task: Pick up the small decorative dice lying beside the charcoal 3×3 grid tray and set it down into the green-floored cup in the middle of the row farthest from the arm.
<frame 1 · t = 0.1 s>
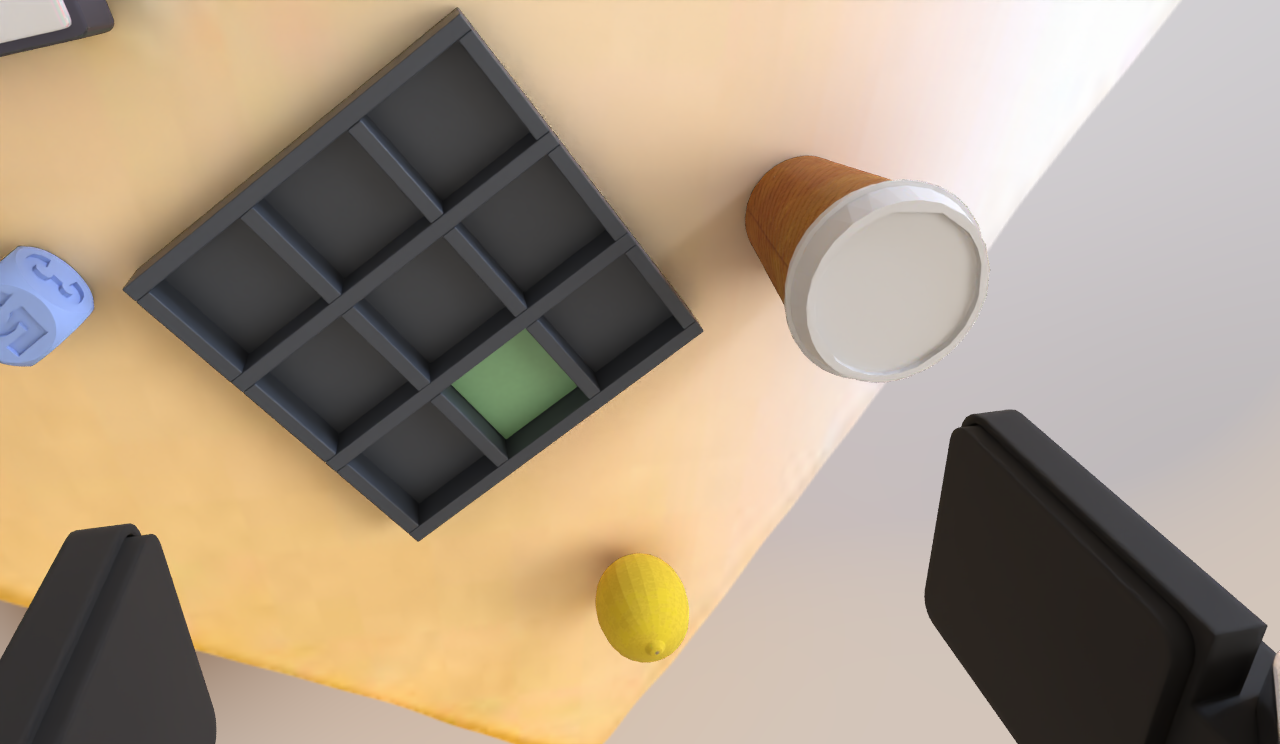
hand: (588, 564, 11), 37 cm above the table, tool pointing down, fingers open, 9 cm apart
disposable coffee cup: (798, 211, 51), on the table
grid tray: (435, 292, 48), on the table
decorative dice: (41, 288, 44), on the table
lemon: (628, 561, 59), on the table
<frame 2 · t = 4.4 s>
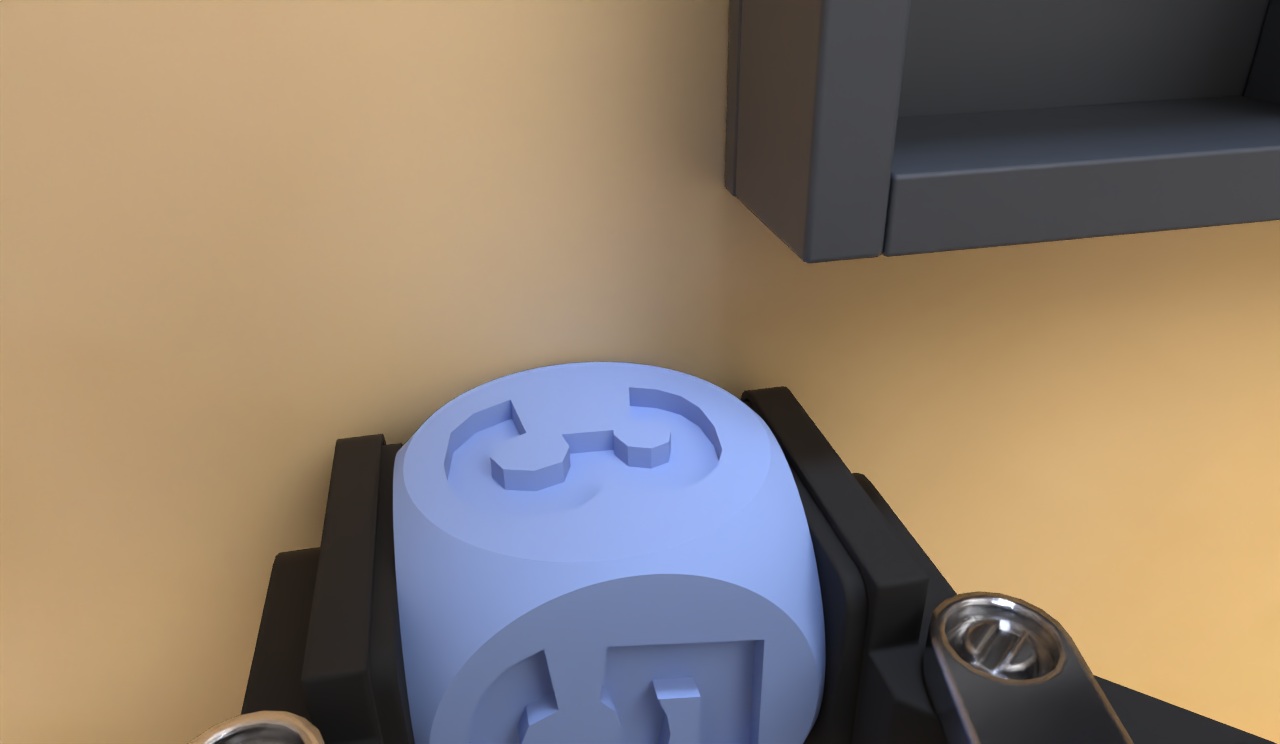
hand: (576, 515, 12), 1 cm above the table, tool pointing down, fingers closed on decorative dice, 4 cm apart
decorative dice: (568, 485, 12), on the table, touching gripper
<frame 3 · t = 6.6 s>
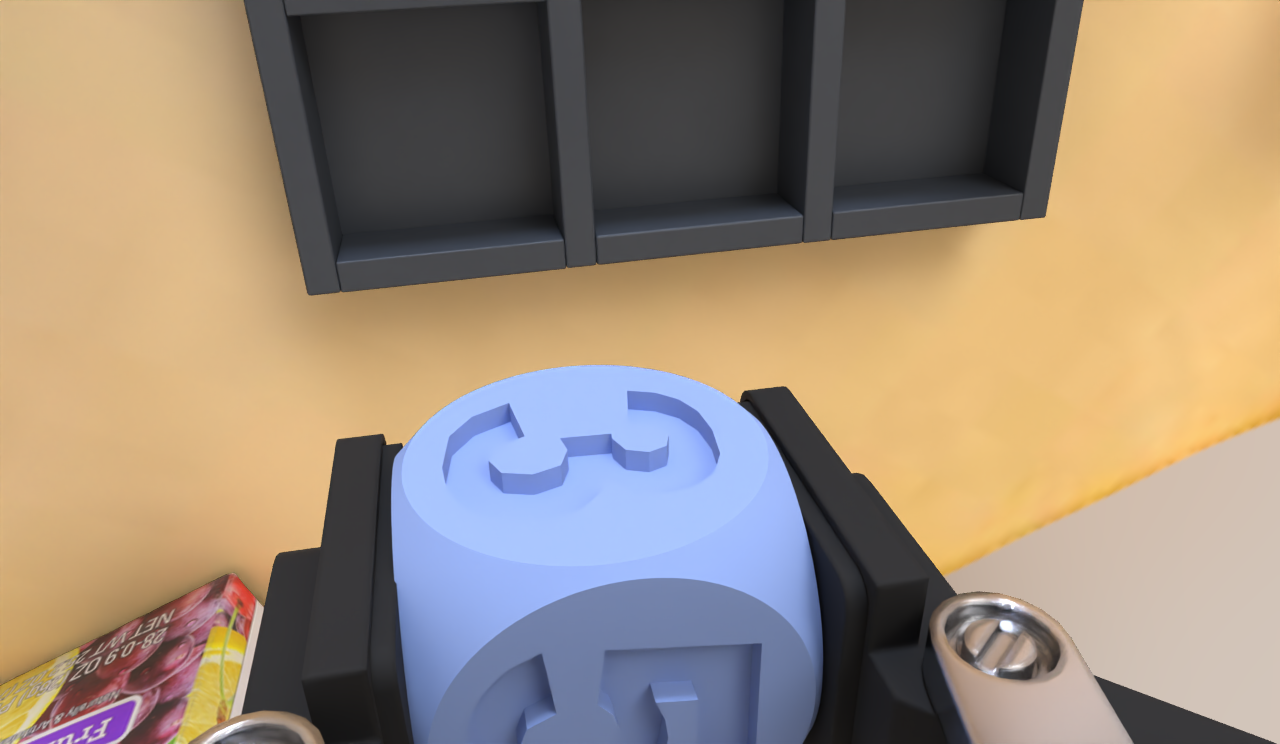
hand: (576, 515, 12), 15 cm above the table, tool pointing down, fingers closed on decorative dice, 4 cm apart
decorative dice: (567, 488, 12), point 14 cm above the table, touching gripper
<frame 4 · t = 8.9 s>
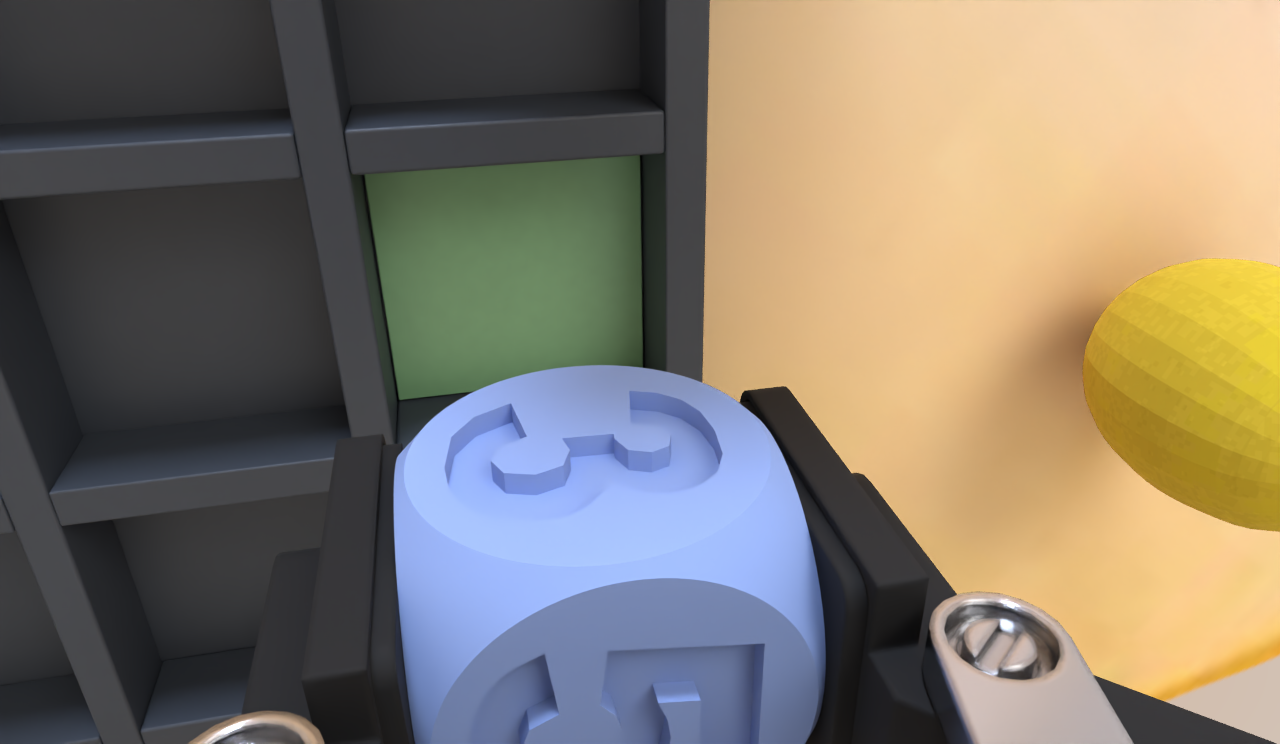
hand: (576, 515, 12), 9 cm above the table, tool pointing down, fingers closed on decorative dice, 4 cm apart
grid tray: (198, 290, 19), on the table
decorative dice: (568, 488, 12), point 9 cm above the table, touching gripper
lemon: (1111, 313, 24), on the table
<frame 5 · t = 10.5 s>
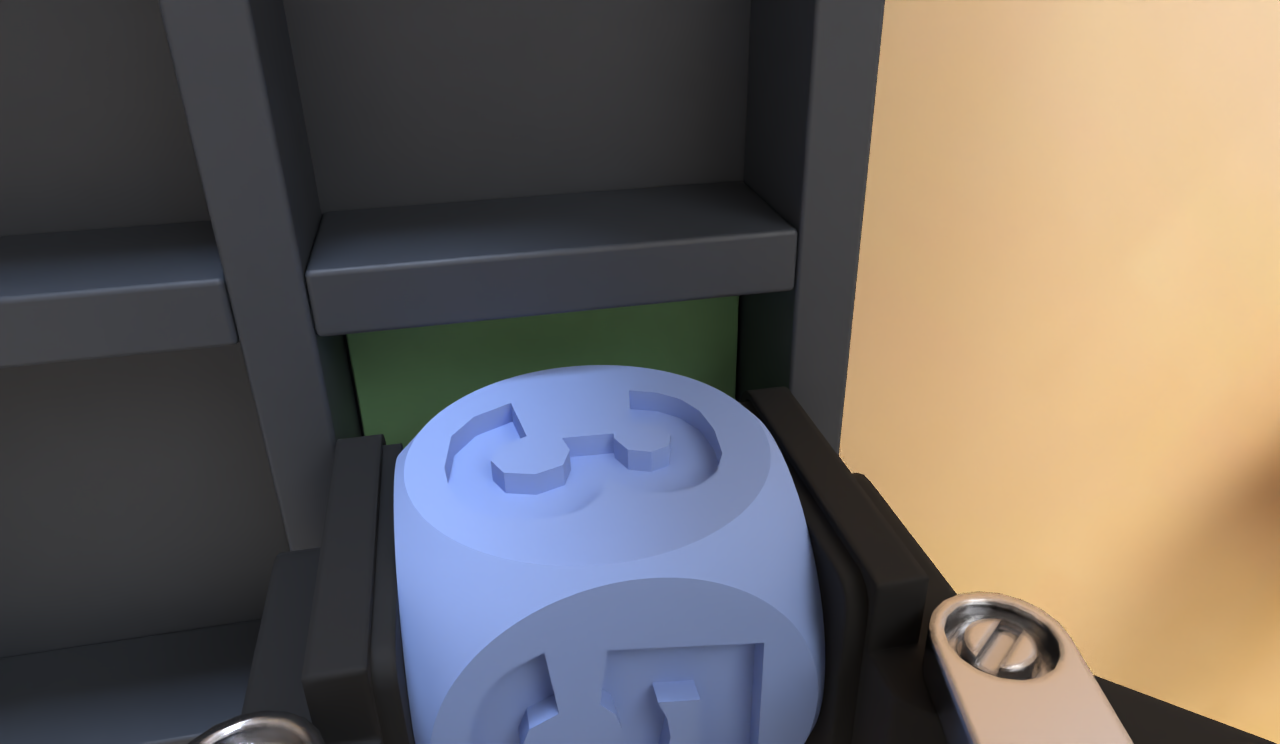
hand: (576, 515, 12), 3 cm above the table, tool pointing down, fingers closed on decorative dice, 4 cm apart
grid tray: (105, 466, 13), on the table
decorative dice: (568, 487, 12), point 2 cm above the table, touching gripper
when the fingers open (3 cm above the table, at t = 13.3 s): decorative dice drops 2 cm, resting on grid tray.
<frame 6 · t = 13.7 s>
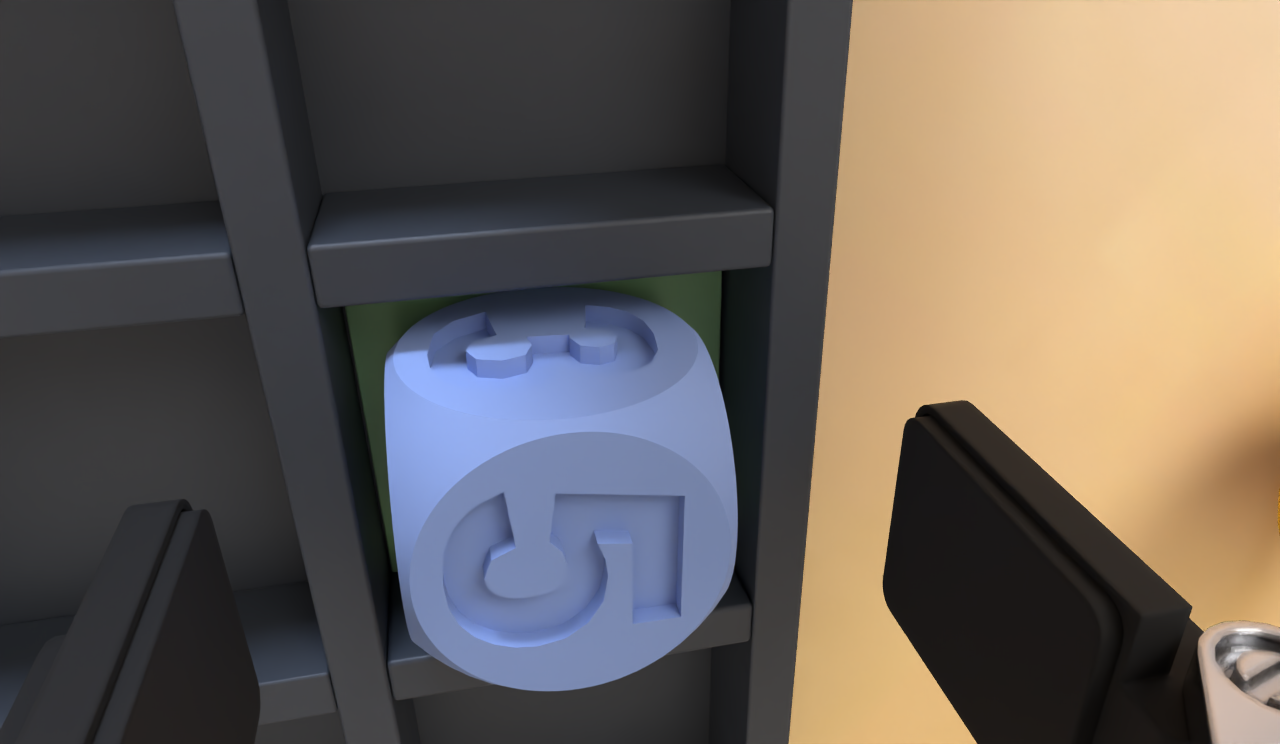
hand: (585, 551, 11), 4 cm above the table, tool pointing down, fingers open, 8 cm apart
grid tray: (115, 438, 14), on the table
decorative dice: (535, 399, 14), resting on grid tray
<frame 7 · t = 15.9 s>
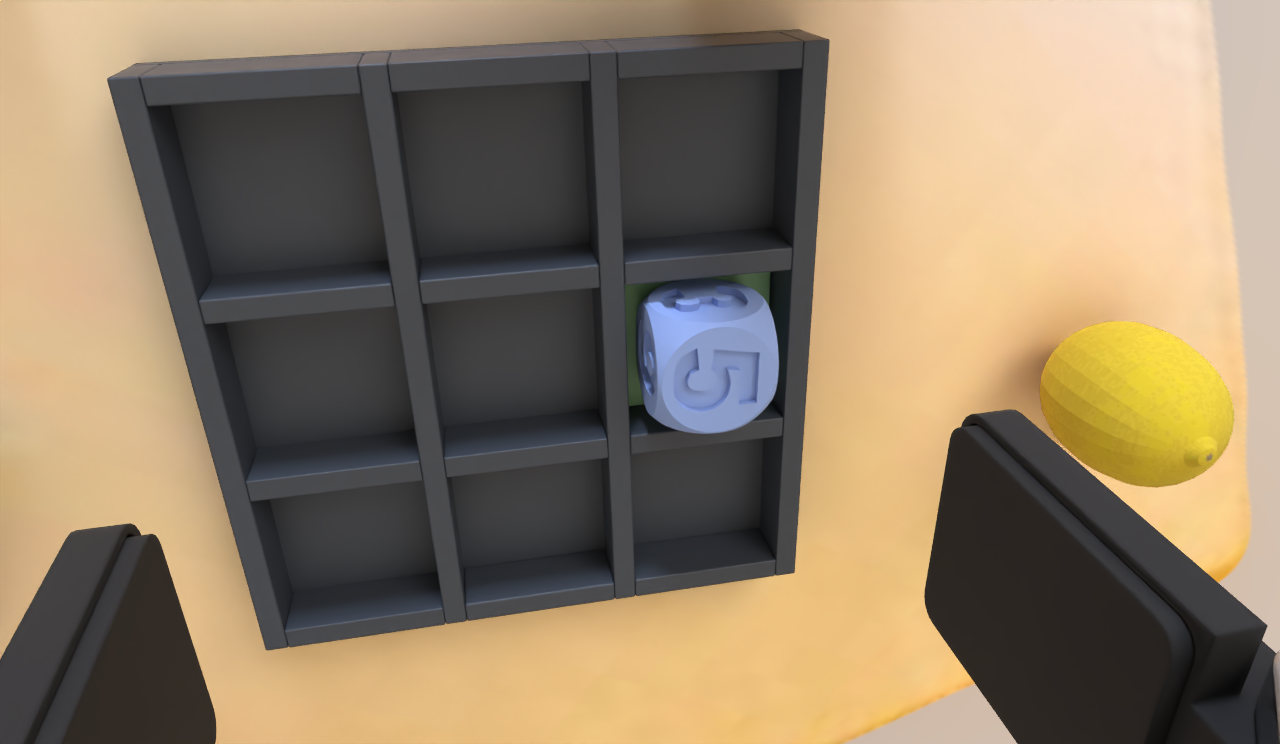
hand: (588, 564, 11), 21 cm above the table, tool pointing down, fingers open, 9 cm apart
grid tray: (514, 342, 32), on the table
decorative dice: (688, 328, 33), resting on grid tray
lemon: (1062, 352, 37), on the table
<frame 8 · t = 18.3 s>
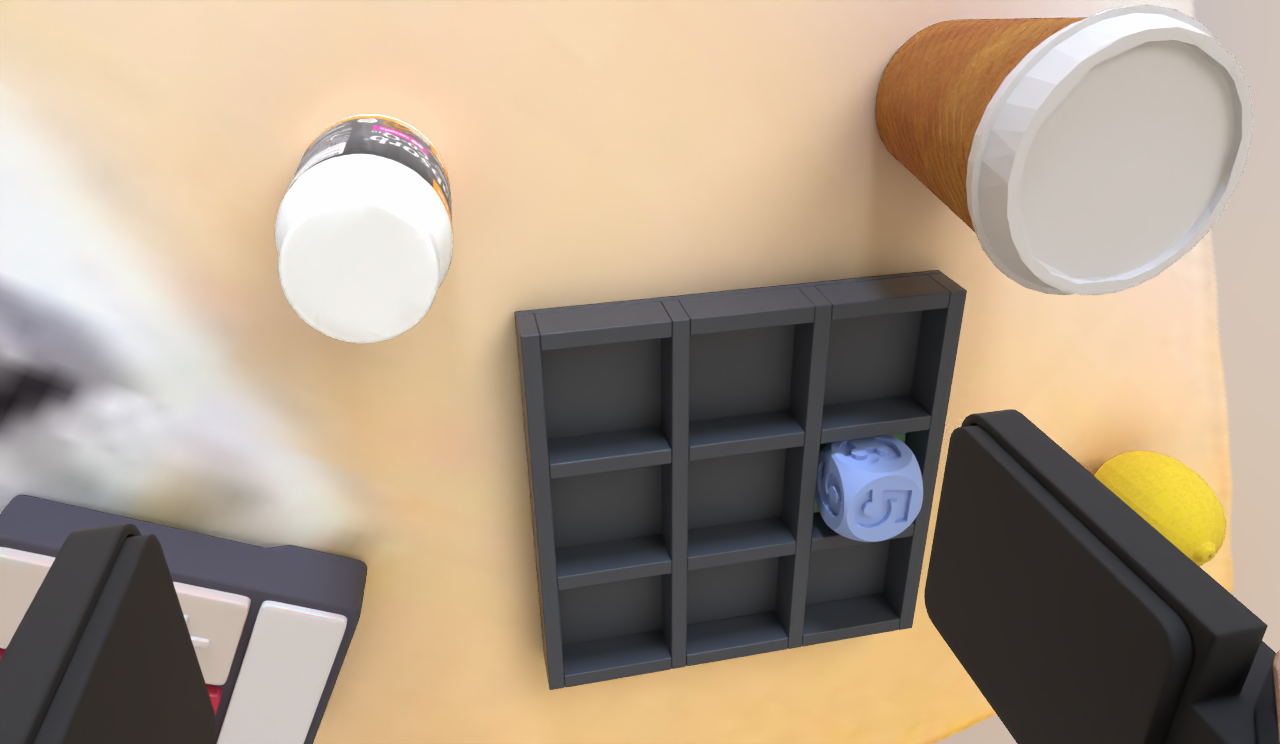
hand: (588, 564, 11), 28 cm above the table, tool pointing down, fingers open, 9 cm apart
disposable coffee cup: (940, 96, 40), on the table
grid tray: (729, 473, 46), on the table
decorative dice: (848, 461, 47), resting on grid tray
calculator: (176, 616, 43), on the table
pill bottle: (375, 182, 36), on the table
lemon: (1101, 465, 52), on the table
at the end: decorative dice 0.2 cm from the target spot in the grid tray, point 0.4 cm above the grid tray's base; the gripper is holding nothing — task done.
